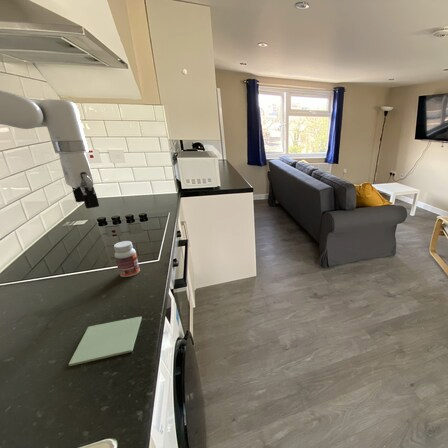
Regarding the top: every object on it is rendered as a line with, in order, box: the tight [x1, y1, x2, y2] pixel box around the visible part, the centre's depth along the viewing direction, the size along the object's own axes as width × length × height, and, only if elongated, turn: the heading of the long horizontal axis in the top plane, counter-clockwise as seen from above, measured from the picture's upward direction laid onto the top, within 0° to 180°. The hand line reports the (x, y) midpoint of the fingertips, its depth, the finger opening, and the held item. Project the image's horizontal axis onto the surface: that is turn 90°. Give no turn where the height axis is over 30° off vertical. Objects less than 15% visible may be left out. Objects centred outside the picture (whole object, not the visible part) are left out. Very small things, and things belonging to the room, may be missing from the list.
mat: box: [68, 316, 143, 367], centre depth 64 cm, size 12×12×1 cm
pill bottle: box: [113, 240, 141, 278], centre depth 90 cm, size 6×6×11 cm
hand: (87, 204), depth 81 cm, fingers open, 9 cm apart
